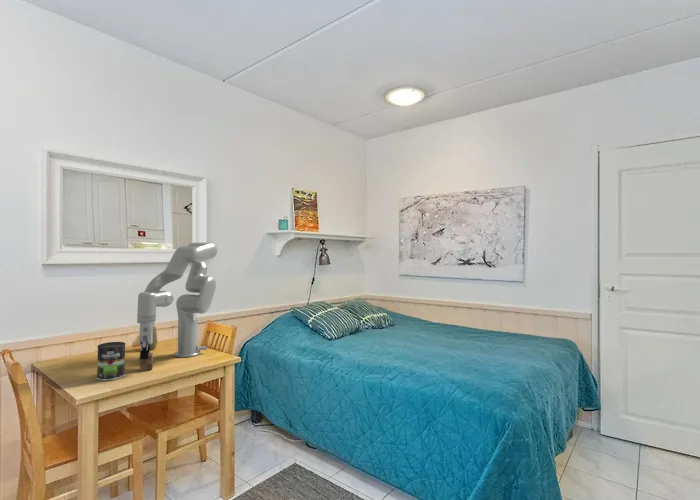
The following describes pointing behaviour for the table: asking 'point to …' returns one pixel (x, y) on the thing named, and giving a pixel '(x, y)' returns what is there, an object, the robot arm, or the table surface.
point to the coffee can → (111, 361)
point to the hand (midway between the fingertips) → (144, 356)
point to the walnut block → (147, 363)
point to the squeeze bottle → (154, 339)
